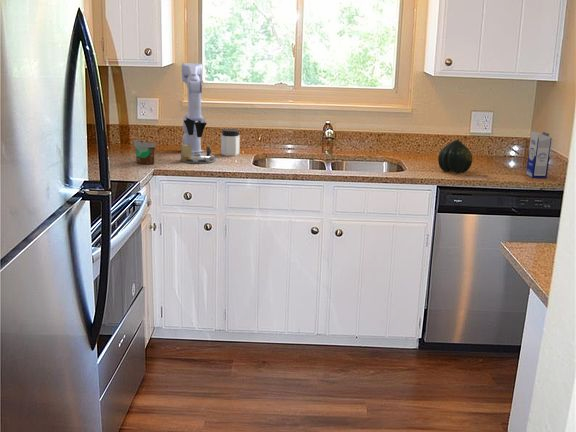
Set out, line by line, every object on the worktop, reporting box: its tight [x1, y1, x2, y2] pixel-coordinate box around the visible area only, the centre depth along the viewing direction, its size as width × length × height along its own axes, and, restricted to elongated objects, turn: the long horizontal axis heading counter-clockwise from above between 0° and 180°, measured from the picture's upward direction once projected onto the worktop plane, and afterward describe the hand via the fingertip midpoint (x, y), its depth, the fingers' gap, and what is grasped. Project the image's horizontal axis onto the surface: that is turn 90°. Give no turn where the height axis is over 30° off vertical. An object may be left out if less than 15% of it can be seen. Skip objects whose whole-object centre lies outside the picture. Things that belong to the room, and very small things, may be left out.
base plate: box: [180, 158, 216, 165], centre depth 304 cm, size 16×16×1 cm
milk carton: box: [525, 130, 553, 179], centre depth 291 cm, size 7×7×20 cm
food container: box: [133, 138, 157, 166], centre depth 292 cm, size 12×6×10 cm, turn 47°
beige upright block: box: [180, 144, 191, 157], centre depth 300 cm, size 3×3×5 cm
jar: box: [220, 128, 241, 157], centre depth 320 cm, size 9×8×12 cm
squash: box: [437, 139, 473, 175], centre depth 297 cm, size 14×15×15 cm
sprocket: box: [180, 146, 216, 162], centre depth 304 cm, size 15×15×6 cm
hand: (195, 136), depth 311 cm, fingers open, 7 cm apart
